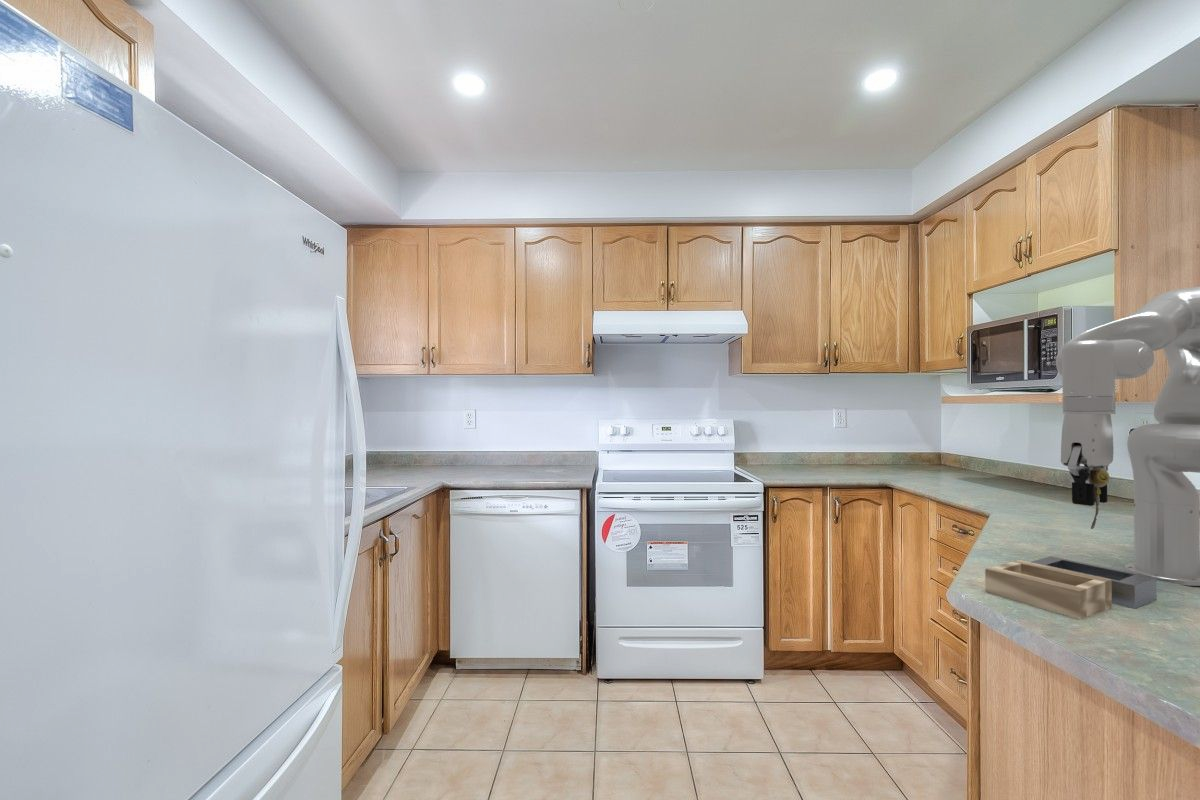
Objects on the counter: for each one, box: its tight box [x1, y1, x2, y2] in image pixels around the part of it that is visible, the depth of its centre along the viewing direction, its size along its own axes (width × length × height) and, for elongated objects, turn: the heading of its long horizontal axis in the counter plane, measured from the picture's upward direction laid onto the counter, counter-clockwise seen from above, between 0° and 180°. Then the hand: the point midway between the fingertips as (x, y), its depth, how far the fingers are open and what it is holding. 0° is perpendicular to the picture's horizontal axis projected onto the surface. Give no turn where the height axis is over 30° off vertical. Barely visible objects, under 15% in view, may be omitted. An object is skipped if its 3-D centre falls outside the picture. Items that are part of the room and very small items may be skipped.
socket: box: [984, 559, 1113, 620], centre depth 100 cm, size 12×14×5 cm
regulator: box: [1083, 464, 1110, 530], centre depth 107 cm, size 8×4×15 cm, turn 169°
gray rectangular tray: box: [1030, 555, 1157, 610], centre depth 106 cm, size 9×16×4 cm, turn 29°
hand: (1089, 502), depth 106 cm, fingers closed on regulator, 4 cm apart
